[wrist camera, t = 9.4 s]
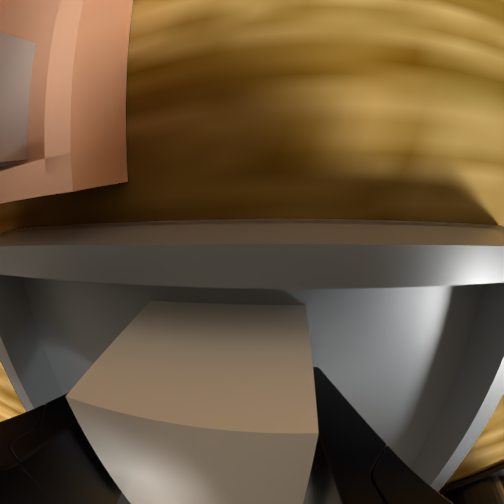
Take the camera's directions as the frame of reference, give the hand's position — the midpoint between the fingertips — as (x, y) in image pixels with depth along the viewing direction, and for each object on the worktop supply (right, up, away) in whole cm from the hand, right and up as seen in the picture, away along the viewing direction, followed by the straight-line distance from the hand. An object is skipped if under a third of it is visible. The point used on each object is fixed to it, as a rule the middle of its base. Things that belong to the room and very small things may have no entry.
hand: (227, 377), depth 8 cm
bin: (0, -3, +2) cm, 3 cm away
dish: (-8, +10, -1) cm, 13 cm away
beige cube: (0, 0, 0) cm, 0 cm away
